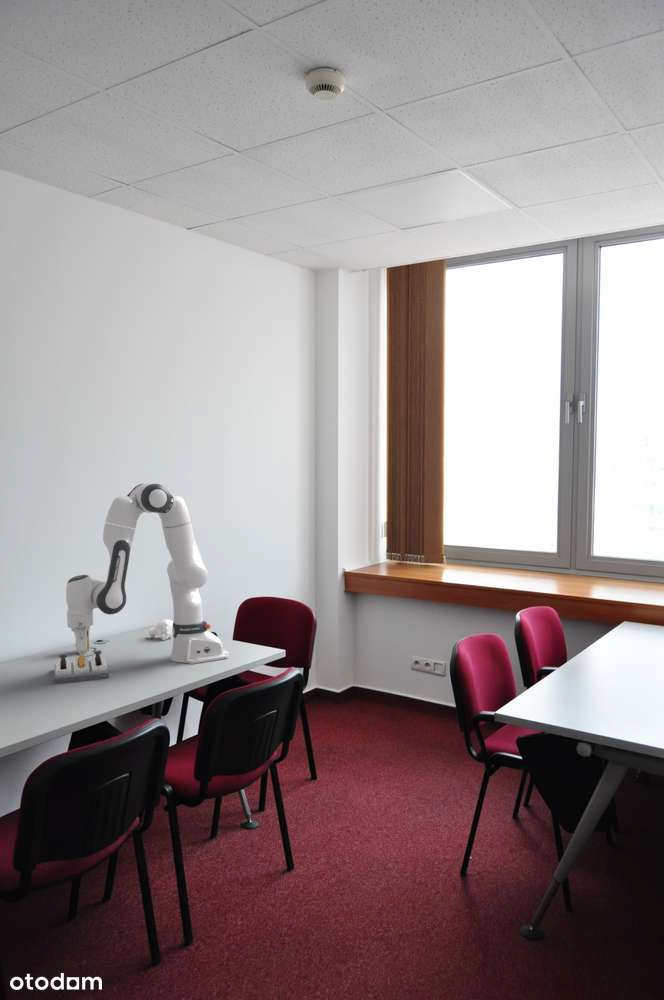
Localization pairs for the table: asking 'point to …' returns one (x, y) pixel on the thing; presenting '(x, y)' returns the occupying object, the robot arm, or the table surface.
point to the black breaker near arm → (97, 656)
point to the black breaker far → (63, 660)
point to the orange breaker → (81, 661)
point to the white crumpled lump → (162, 629)
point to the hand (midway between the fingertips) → (82, 658)
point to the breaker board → (81, 670)
